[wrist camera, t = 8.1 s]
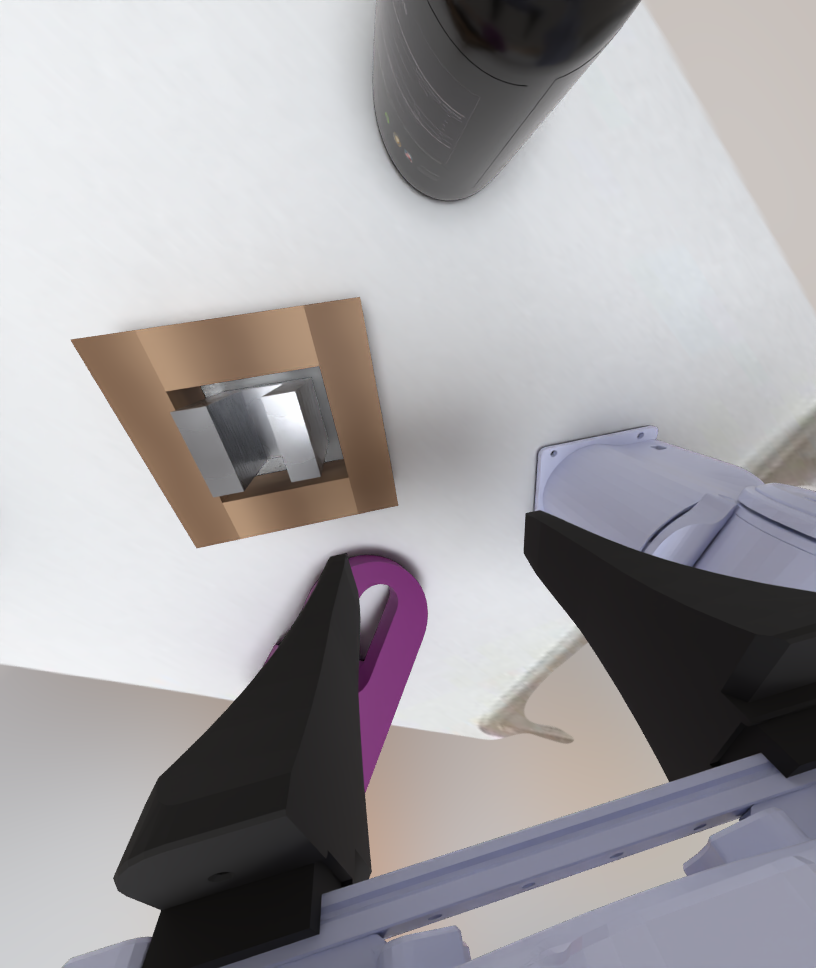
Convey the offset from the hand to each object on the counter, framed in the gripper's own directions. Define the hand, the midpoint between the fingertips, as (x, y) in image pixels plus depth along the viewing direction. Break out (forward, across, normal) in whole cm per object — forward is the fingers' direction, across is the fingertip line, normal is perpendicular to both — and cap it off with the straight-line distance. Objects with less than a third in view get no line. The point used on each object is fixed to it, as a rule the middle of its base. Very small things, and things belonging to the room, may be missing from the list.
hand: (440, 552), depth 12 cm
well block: (+10, +7, -4) cm, 13 cm away
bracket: (+10, +7, -4) cm, 13 cm away
